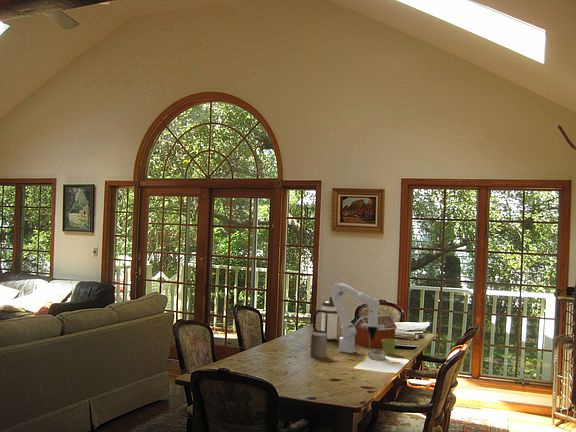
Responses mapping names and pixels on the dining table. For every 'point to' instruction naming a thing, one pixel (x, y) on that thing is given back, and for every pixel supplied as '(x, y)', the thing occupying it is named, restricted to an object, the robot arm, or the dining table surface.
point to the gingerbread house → (386, 333)
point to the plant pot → (388, 346)
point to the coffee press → (328, 320)
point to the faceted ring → (376, 356)
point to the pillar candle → (318, 345)
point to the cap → (376, 351)
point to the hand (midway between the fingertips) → (372, 339)
